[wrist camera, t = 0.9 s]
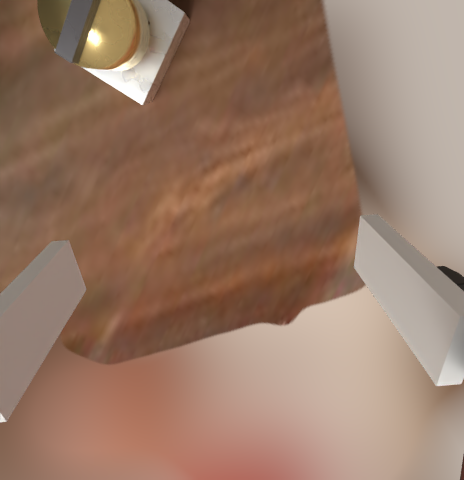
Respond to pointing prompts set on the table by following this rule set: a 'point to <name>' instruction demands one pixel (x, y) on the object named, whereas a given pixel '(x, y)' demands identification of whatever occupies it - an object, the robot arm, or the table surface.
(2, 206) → the table surface
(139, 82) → the silver square block
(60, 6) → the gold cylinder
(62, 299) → the robot arm
